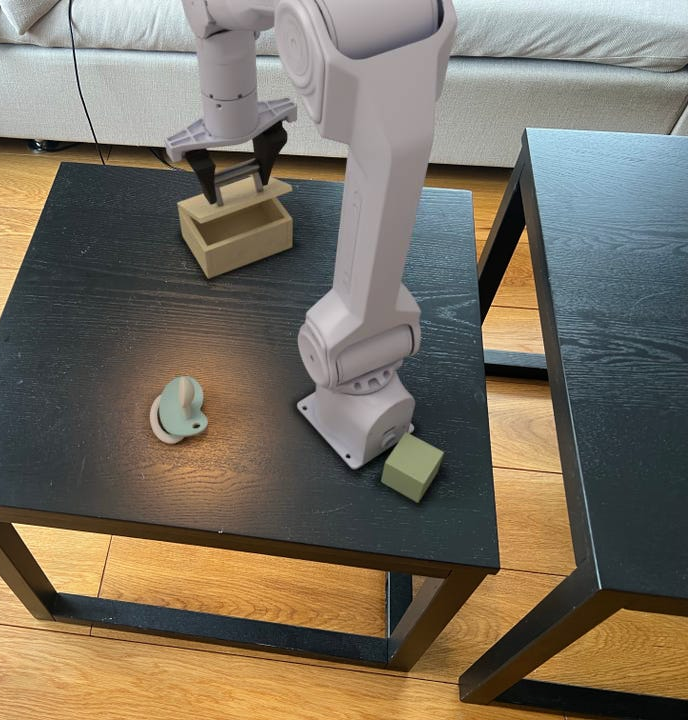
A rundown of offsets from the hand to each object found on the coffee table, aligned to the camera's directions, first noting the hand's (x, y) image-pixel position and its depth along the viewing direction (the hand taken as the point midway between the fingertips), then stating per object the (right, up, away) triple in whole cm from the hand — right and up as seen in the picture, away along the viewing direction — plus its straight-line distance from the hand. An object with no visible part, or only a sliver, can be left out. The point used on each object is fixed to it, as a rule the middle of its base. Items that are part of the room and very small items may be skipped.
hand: (236, 189), depth 86 cm
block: (+16, -31, -13) cm, 37 cm away
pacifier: (-6, -26, -7) cm, 27 cm away
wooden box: (0, -5, +8) cm, 9 cm away
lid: (0, -1, +2) cm, 3 cm away
